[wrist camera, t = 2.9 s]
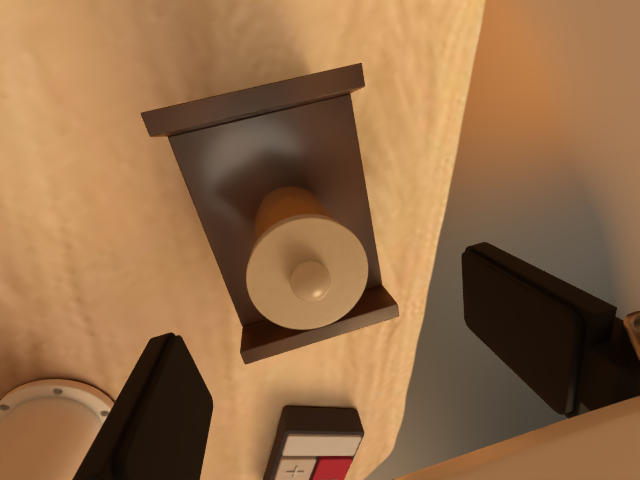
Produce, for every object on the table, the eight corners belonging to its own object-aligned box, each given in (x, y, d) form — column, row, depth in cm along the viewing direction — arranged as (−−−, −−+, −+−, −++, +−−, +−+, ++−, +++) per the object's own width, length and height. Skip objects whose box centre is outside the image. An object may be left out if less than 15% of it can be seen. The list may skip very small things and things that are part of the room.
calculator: (261, 511, 41) (285, 436, 36) (262, 476, 45) (283, 405, 40) (335, 507, 44) (367, 438, 39) (330, 475, 48) (358, 408, 43)
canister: (265, 265, 22) (267, 362, 13) (242, 195, 20) (224, 249, 11) (334, 245, 23) (386, 324, 13) (318, 175, 21) (366, 209, 11)
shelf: (251, 282, 33) (244, 365, 21) (194, 122, 27) (139, 113, 15) (351, 253, 35) (399, 316, 22) (319, 93, 28) (361, 62, 16)
